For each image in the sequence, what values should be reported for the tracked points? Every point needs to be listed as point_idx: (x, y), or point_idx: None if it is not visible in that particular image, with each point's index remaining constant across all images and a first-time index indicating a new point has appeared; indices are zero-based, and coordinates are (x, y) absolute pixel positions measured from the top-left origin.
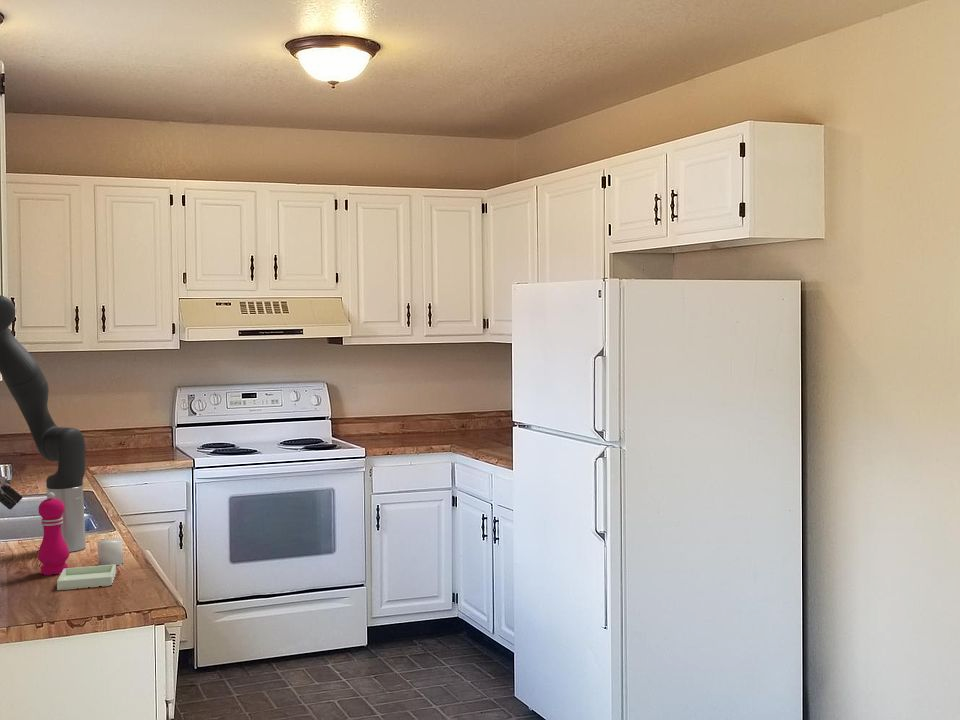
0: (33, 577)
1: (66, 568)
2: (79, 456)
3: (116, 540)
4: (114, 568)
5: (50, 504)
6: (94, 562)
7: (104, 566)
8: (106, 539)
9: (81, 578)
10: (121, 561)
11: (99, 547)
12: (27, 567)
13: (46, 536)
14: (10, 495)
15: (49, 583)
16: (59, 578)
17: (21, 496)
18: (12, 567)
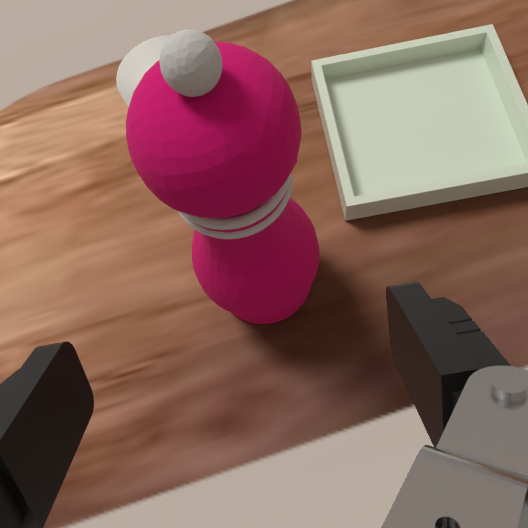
0: (330, 333)
1: (347, 197)
2: None
3: (159, 52)
4: (370, 49)
5: (280, 84)
6: (140, 187)
7: (326, 89)
8: (125, 92)
9: (414, 143)
10: None
11: None
12: (148, 416)
13: (282, 230)
14: (49, 457)
15: (434, 242)
16: (510, 172)
17: (57, 345)
18: (129, 487)
